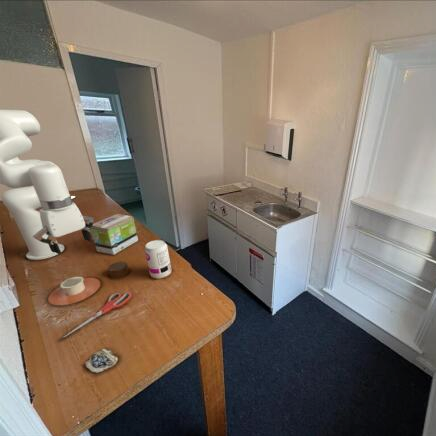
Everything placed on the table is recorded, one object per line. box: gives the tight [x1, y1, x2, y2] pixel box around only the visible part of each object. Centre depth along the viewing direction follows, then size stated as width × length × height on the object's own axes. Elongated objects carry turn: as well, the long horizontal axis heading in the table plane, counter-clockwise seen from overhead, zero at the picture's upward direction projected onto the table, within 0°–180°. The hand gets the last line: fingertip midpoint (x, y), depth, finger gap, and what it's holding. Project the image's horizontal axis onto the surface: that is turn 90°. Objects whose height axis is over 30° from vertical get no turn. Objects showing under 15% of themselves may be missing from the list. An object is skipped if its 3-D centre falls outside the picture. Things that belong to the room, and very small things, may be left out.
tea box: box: [90, 213, 139, 256], centre depth 115 cm, size 15×10×15 cm, turn 168°
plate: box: [47, 277, 101, 306], centre depth 89 cm, size 15×15×1 cm
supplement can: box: [144, 239, 172, 280], centre depth 99 cm, size 8×8×15 cm
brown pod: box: [107, 261, 129, 279], centre depth 99 cm, size 7×7×4 cm
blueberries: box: [84, 348, 119, 374], centre depth 66 cm, size 7×8×2 cm
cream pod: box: [60, 276, 85, 296], centre depth 88 cm, size 6×6×4 cm
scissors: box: [63, 292, 133, 338], centre depth 80 cm, size 8×21×2 cm, turn 170°
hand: (73, 246), depth 85 cm, fingers open, 9 cm apart
